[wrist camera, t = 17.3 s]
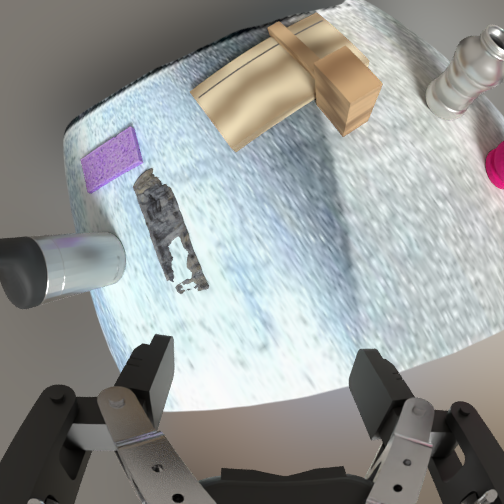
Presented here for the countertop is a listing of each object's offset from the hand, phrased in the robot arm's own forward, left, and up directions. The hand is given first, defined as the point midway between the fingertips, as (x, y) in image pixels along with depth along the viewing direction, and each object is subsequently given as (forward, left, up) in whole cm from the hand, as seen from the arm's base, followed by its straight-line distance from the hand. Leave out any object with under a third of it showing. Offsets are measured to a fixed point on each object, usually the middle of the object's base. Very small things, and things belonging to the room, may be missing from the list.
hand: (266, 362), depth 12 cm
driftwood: (-21, -1, -30) cm, 37 cm away
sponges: (-36, +8, -30) cm, 47 cm away
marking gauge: (-5, +26, -29) cm, 39 cm away
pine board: (-11, +26, -29) cm, 40 cm away
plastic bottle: (+14, +29, -29) cm, 44 cm away
